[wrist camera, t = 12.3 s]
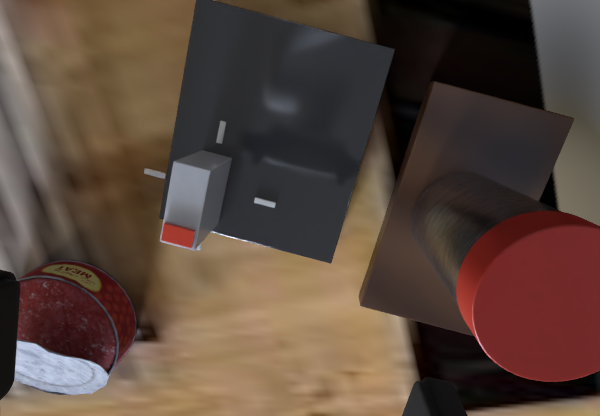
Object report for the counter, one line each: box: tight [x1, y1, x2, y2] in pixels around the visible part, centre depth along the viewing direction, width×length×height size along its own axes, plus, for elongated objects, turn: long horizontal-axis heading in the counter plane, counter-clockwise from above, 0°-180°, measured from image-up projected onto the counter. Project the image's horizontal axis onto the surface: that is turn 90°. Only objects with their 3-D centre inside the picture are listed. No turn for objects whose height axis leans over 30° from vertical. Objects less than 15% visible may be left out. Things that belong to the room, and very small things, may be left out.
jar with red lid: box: [411, 172, 600, 382], centre depth 21 cm, size 7×7×12 cm
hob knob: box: [160, 150, 232, 250], centre depth 24 cm, size 5×2×5 cm, turn 166°
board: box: [359, 81, 574, 336], centre depth 28 cm, size 16×9×2 cm, turn 166°
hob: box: [144, 0, 395, 263], centre depth 27 cm, size 15×13×3 cm
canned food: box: [14, 260, 137, 395], centre depth 29 cm, size 11×10×10 cm
